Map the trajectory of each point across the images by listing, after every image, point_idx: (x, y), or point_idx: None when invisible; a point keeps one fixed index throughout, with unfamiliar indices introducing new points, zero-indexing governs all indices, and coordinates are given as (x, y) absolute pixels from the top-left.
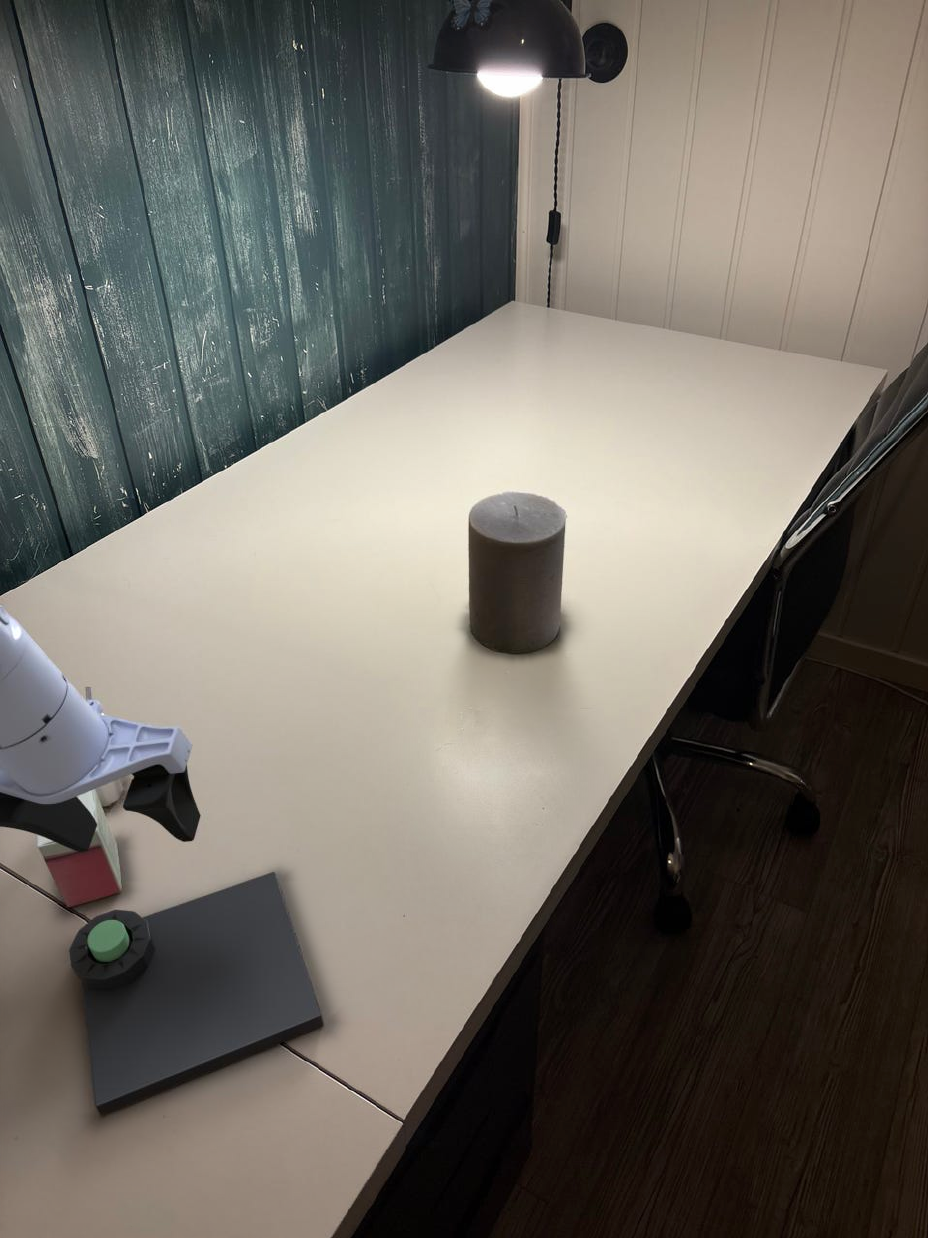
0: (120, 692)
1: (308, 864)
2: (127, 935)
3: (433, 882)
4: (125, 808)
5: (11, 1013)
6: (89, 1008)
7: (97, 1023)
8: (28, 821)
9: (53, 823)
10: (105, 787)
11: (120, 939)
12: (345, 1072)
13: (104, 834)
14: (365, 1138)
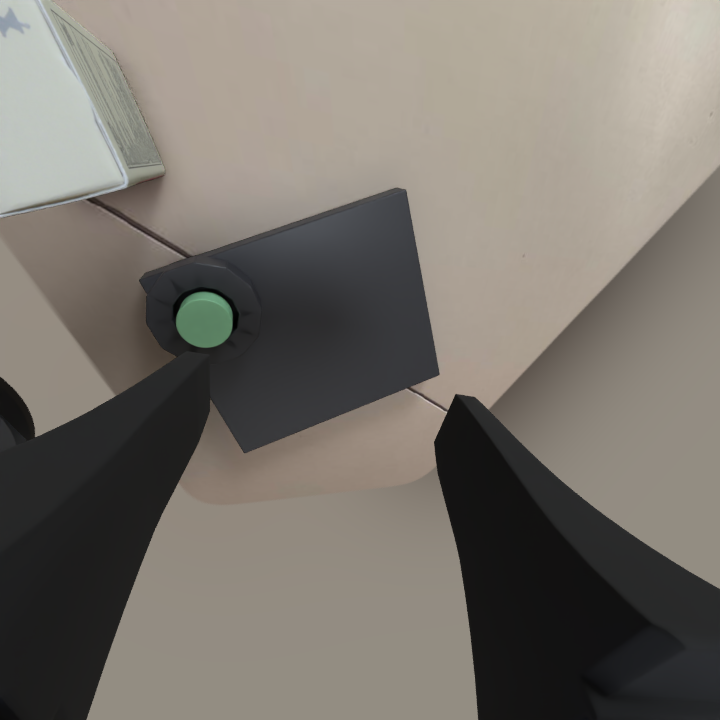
0: None
1: (437, 161)
2: (231, 313)
3: (563, 214)
4: None
5: (86, 353)
6: None
7: (217, 386)
8: (102, 662)
9: (147, 528)
10: None
11: (228, 330)
12: (443, 400)
13: (124, 130)
14: None
